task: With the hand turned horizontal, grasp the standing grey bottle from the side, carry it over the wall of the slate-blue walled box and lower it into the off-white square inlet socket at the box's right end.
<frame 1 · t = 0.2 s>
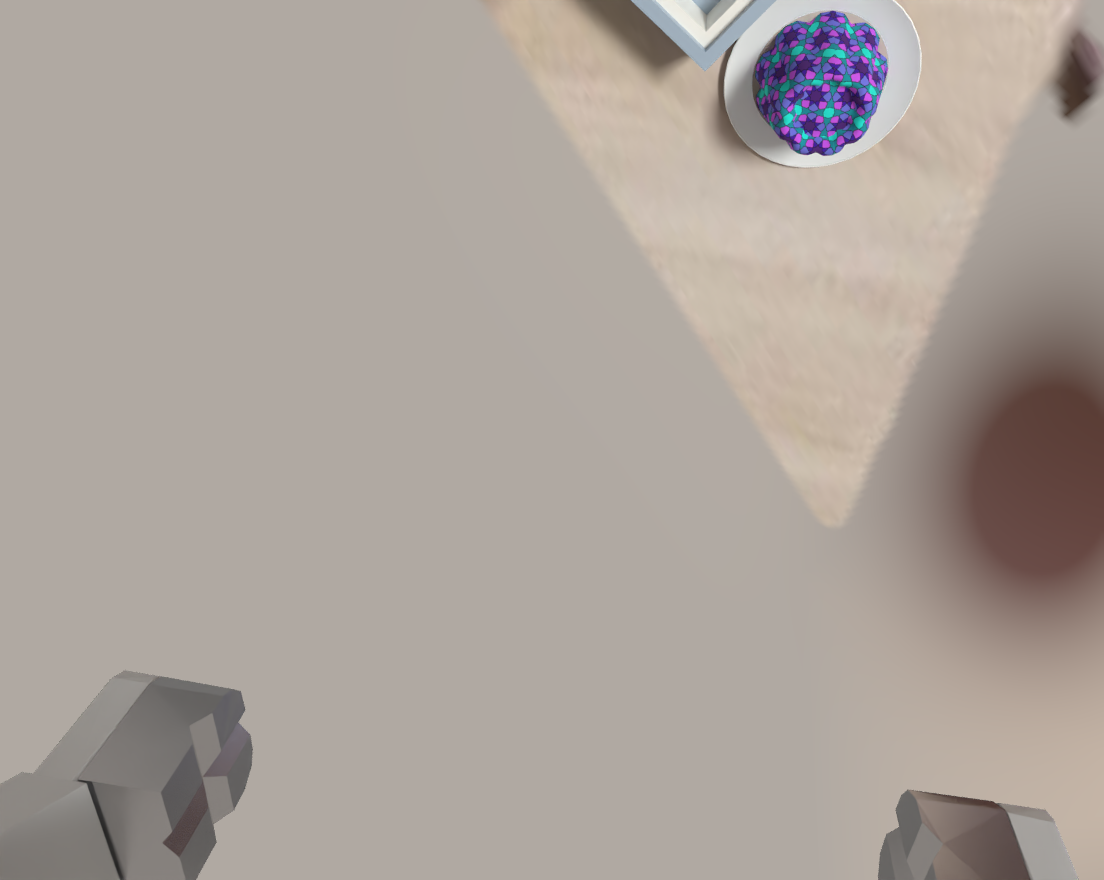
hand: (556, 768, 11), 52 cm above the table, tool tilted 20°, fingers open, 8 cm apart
pudding: (818, 75, 55), on the table
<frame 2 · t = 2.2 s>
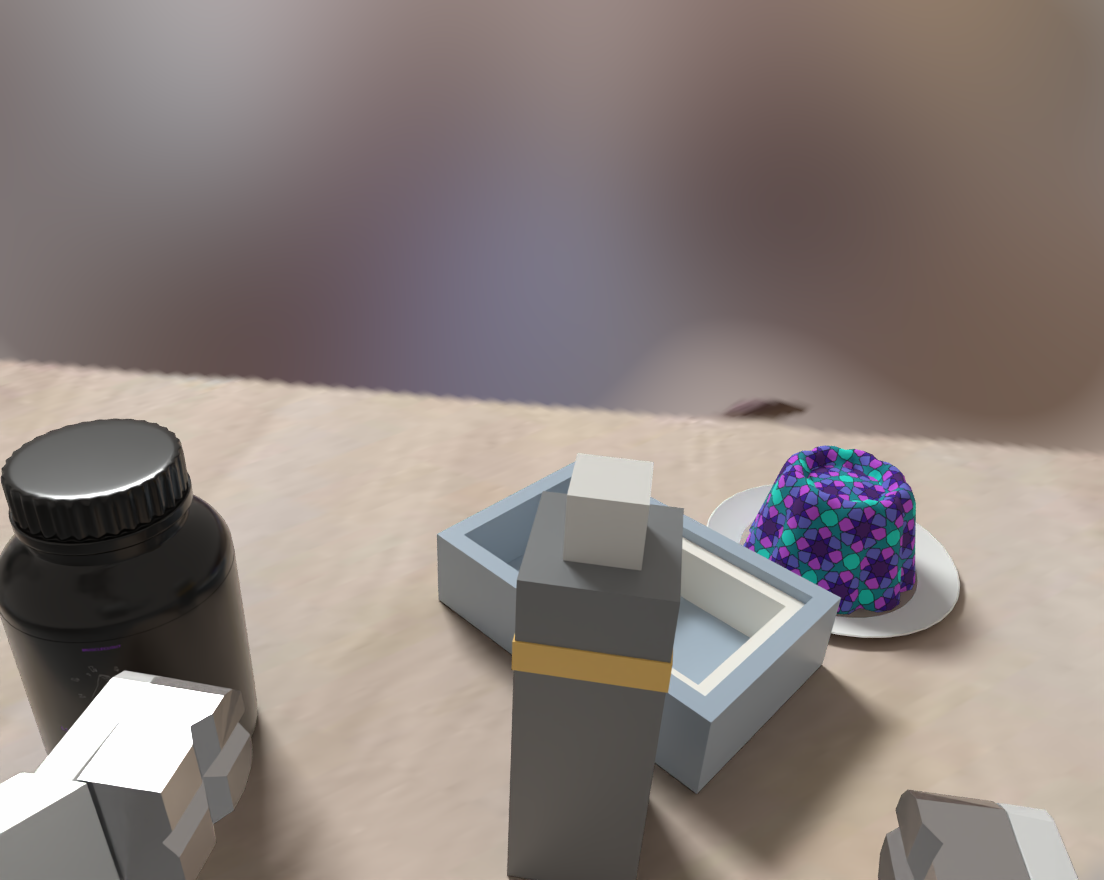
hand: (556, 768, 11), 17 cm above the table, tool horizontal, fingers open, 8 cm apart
pudding: (824, 566, 42), on the table
walled box: (624, 630, 37), on the table
supplement bottle: (164, 741, 31), on the table
grey bottle: (577, 829, 29), on the table
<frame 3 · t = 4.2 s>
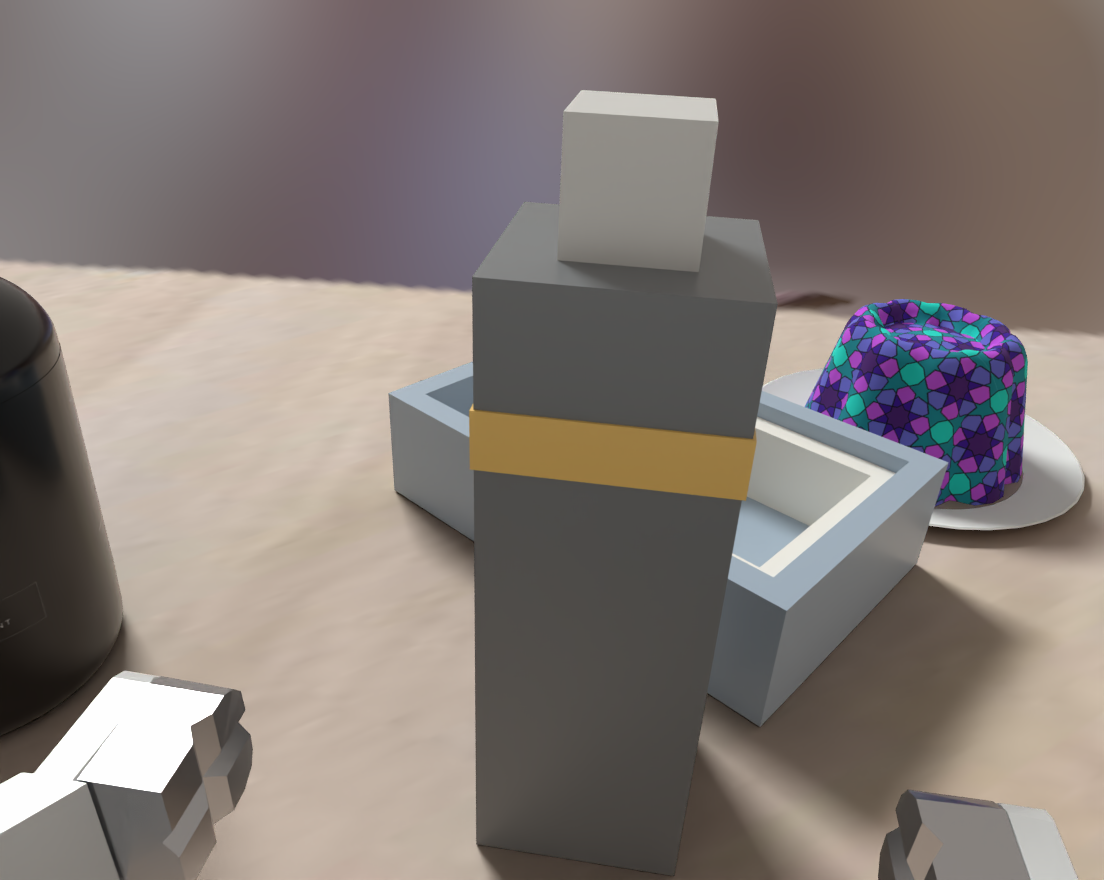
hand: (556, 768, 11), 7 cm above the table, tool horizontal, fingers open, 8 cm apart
pudding: (899, 457, 33), on the table
walled box: (644, 525, 27), on the table
grey bottle: (585, 777, 19), on the table
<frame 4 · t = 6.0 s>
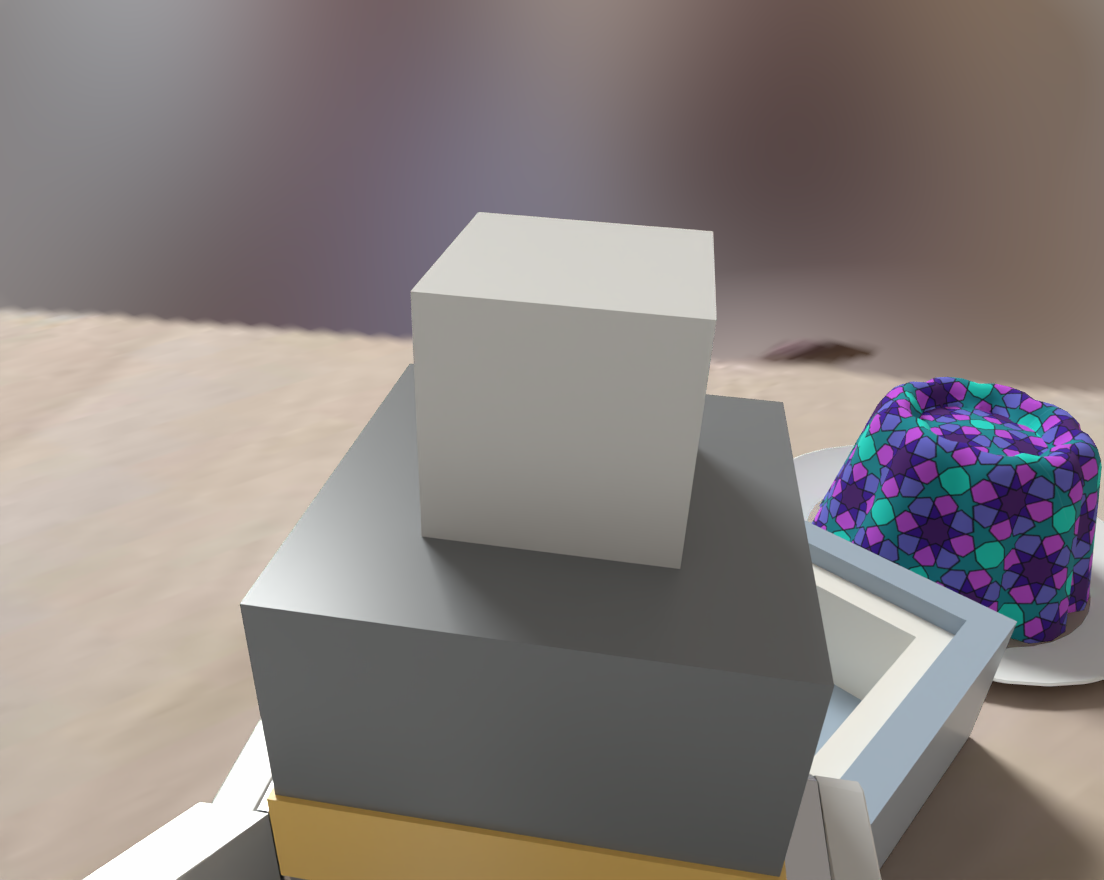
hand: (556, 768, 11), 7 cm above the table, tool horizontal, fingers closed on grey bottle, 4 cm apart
pudding: (937, 566, 27), on the table
walled box: (626, 676, 22), on the table
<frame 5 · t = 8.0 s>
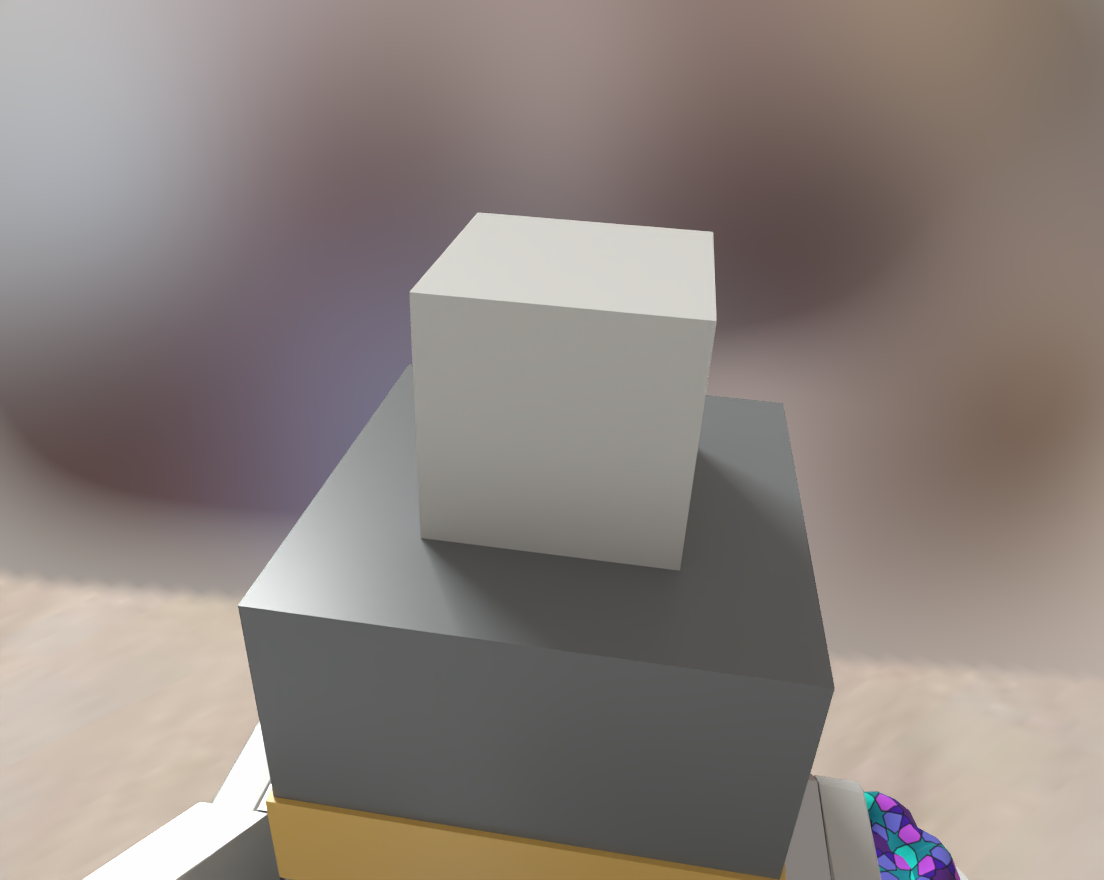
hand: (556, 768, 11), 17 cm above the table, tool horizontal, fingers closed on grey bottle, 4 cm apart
when the fingers open (9 cm above the table, at t = 10.2 s): grey bottle drops 1 cm, resting on walled box.
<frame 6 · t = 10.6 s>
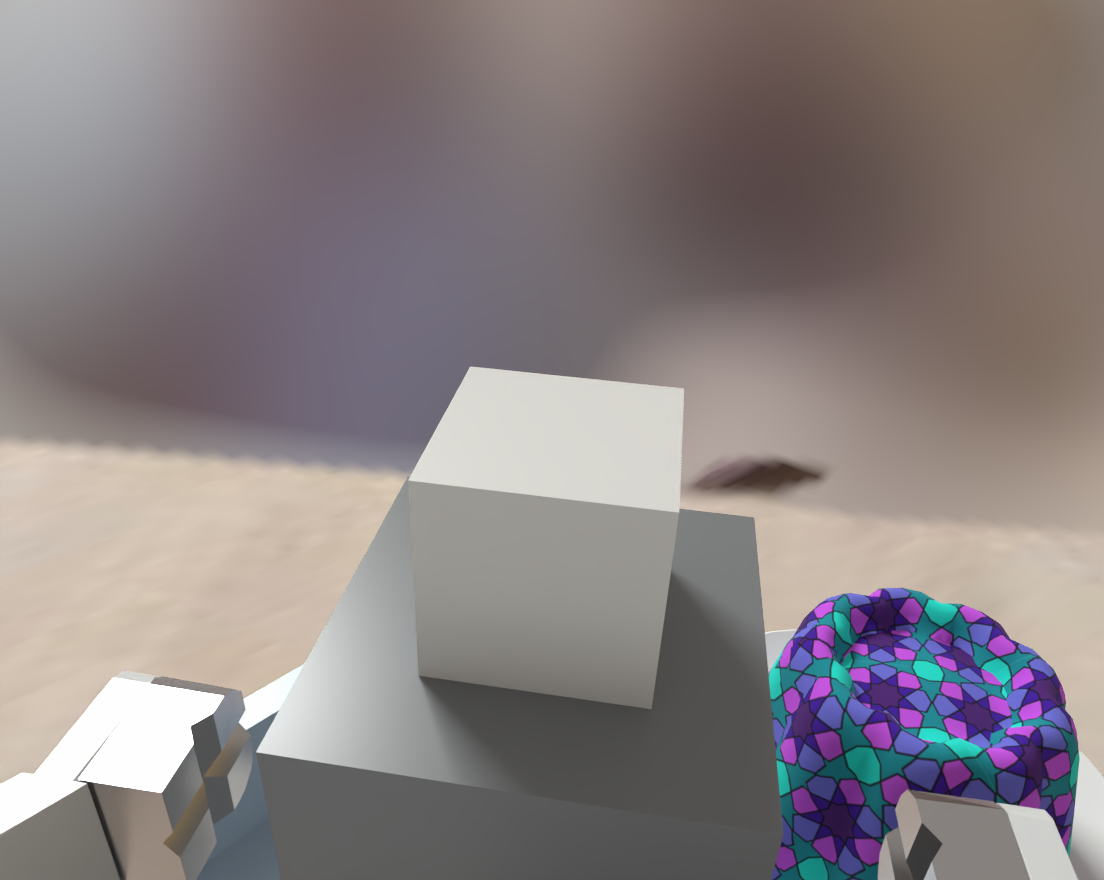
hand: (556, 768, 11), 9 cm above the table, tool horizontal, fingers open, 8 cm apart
pudding: (874, 824, 21), on the table
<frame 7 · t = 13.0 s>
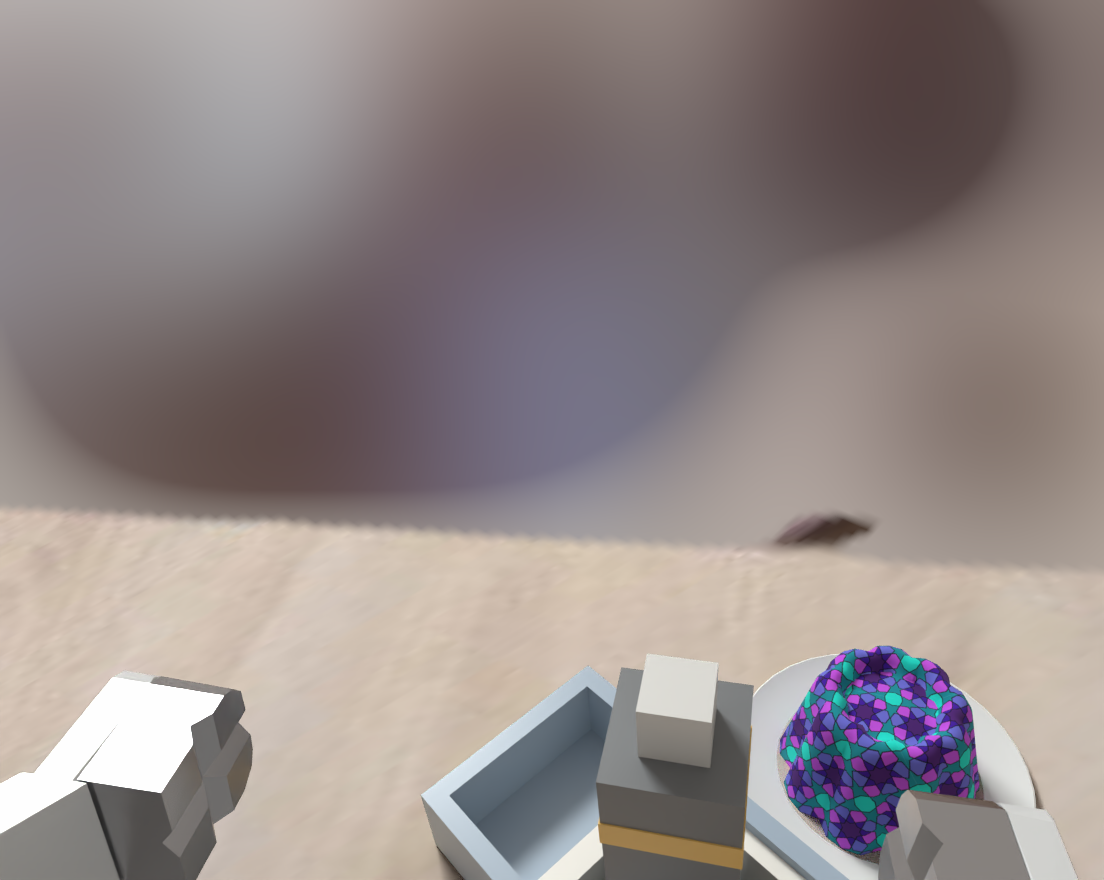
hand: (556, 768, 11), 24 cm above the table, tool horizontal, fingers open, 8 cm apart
pudding: (875, 777, 37), on the table
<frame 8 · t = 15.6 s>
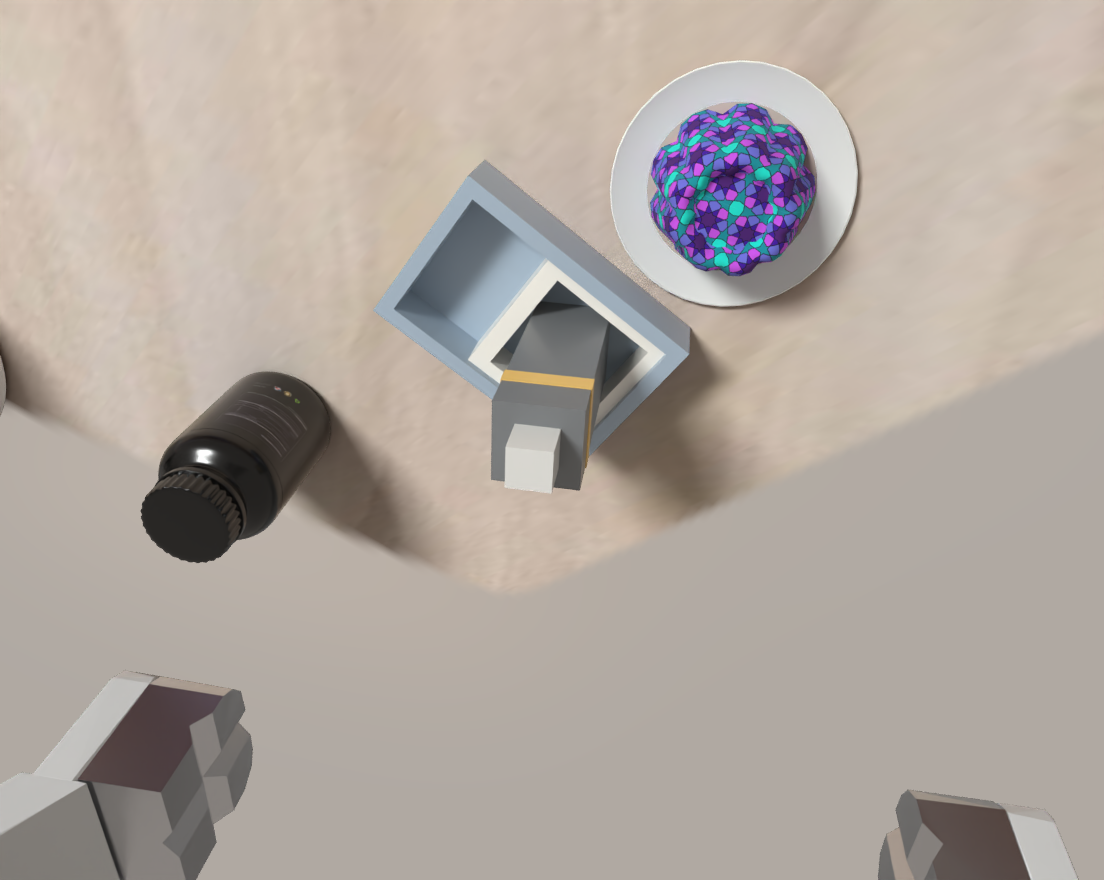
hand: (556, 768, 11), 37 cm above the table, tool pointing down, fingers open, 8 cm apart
pudding: (730, 187, 43), on the table
walled box: (539, 307, 47), on the table
supplement bottle: (283, 415, 54), on the table
grey bottle: (572, 338, 47), point 1 cm above the table, touching walled box
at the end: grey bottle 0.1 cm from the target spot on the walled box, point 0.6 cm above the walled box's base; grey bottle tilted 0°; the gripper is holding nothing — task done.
